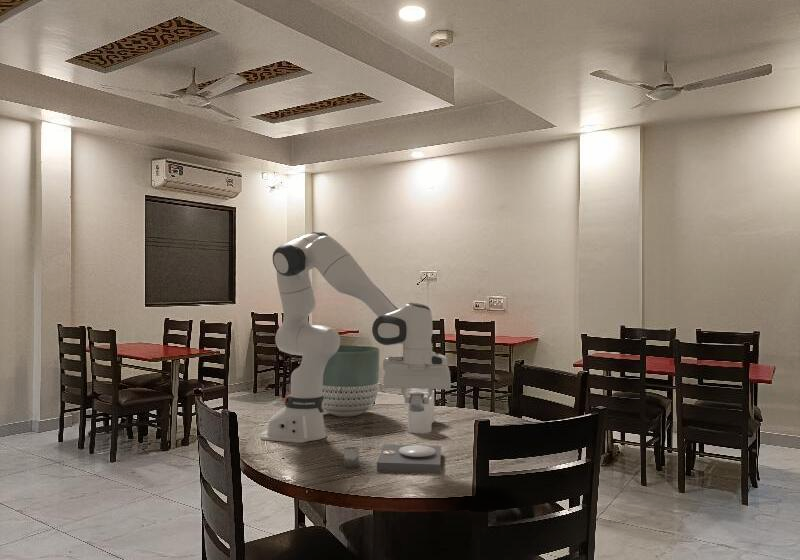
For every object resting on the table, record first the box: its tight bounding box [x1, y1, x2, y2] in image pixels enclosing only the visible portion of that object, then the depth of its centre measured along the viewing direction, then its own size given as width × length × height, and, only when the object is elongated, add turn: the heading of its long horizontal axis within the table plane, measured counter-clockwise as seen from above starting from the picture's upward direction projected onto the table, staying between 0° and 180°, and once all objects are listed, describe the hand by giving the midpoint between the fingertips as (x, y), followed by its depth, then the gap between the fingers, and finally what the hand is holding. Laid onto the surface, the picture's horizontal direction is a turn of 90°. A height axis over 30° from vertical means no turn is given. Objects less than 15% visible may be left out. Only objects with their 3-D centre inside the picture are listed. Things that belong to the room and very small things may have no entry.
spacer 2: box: [410, 392, 424, 412], centre depth 187 cm, size 4×4×5 cm
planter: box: [323, 344, 380, 418], centre depth 254 cm, size 27×27×27 cm
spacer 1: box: [343, 446, 360, 469], centre depth 183 cm, size 4×4×5 cm
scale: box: [376, 443, 442, 474], centre depth 188 cm, size 18×20×4 cm
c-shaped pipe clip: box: [407, 388, 435, 434], centre depth 237 cm, size 25×10×12 cm, turn 176°
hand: (416, 403), depth 187 cm, fingers closed on spacer 2, 4 cm apart
